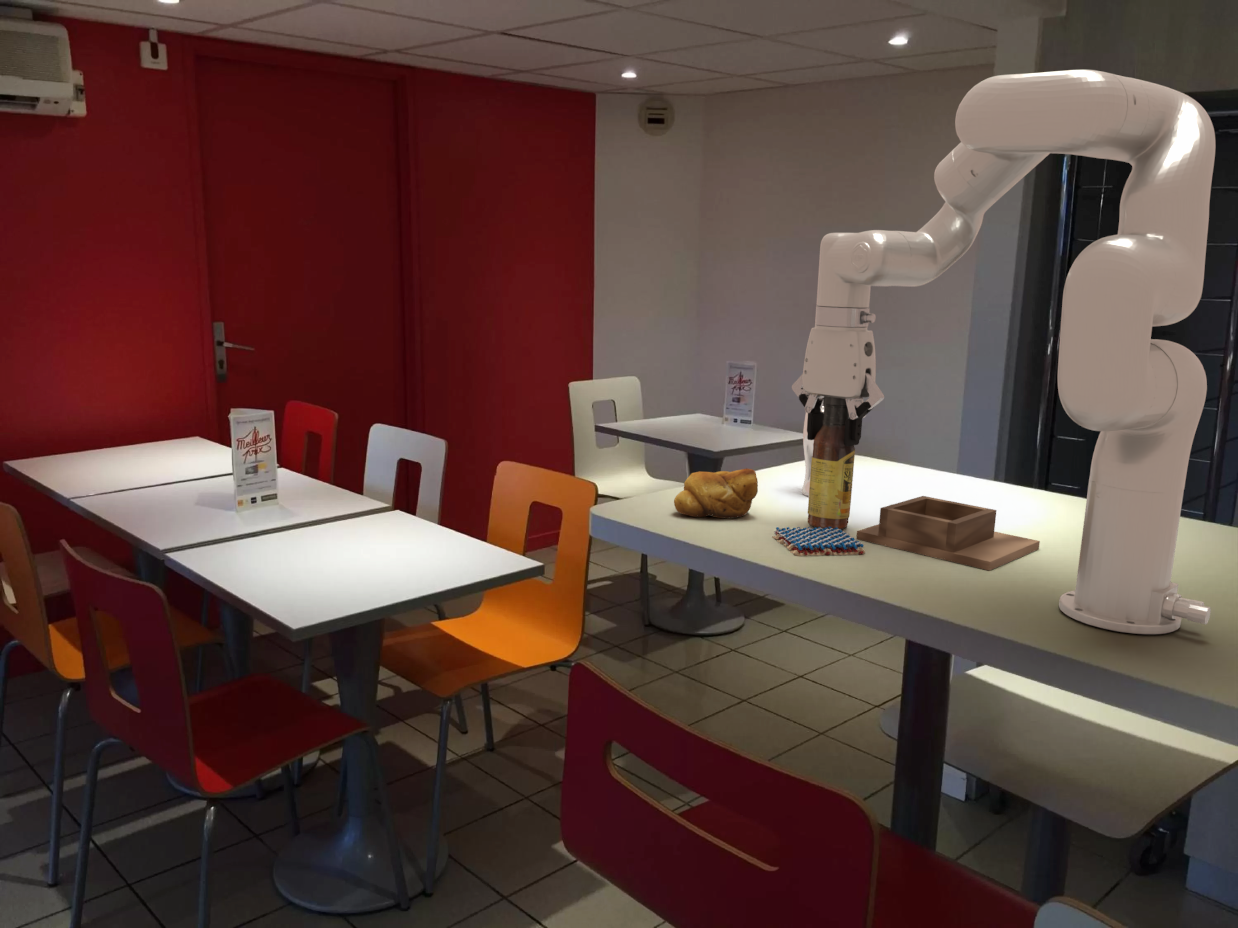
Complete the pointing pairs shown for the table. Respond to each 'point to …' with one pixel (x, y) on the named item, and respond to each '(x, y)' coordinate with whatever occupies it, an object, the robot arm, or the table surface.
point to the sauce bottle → (831, 469)
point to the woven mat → (818, 541)
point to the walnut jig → (947, 533)
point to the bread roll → (718, 494)
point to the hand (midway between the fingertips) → (832, 440)
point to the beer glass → (807, 456)
